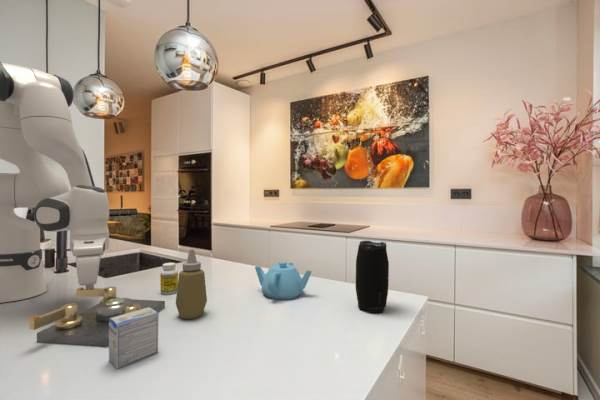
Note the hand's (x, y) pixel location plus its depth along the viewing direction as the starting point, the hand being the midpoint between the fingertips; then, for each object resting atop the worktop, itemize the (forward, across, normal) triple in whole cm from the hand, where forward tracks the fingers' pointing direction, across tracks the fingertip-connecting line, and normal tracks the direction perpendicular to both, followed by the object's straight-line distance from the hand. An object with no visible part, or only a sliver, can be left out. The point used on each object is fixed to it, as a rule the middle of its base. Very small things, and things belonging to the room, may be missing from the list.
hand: (89, 292), depth 82 cm
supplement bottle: (+5, -6, +22) cm, 23 cm away
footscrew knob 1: (+3, +15, -5) cm, 17 cm away
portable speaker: (+5, +40, +70) cm, 80 cm away
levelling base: (+5, +12, +5) cm, 13 cm away
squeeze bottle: (+5, +18, +24) cm, 30 cm away
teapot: (+5, +15, +54) cm, 56 cm away
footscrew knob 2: (+3, +2, +2) cm, 4 cm away
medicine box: (+5, +33, +9) cm, 34 cm away
